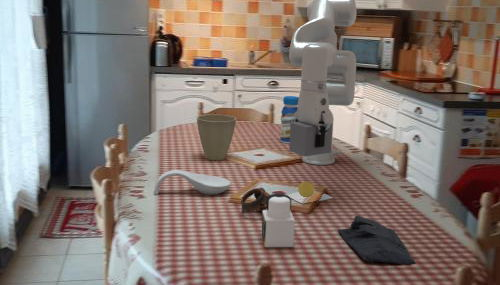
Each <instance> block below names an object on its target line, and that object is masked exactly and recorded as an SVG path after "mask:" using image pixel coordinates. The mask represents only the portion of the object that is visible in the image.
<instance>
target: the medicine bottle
mask: <svg viewBox="0 0 500 285" xmlns="http://www.w3.org/2000/svg"><path fill="white" fill-rule="evenodd" d="M285 194H286V193H280V192H278V193H272V194H270V195H269V196H268V197H267V199H266V205H265V209H263V210H262V211H261V212H262V214H261V239H262V242H263V246H264V248H293V247H294V244H295V226H296V225H295V224H296V223H295V221H296V220H295V218H294V216H293V214H292V199H291V198H290V197H289V196H288V195H285Z"/></svg>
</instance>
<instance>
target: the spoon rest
mask: <svg viewBox="0 0 500 285" xmlns="http://www.w3.org/2000/svg"><path fill="white" fill-rule="evenodd" d="M174 176H178V177H181V178H184V179H185V180H186V181H188V182H189V183H190V184H191V185H192V186H193V187H194V188H195V189H196V190H197V191H198V192H199V193H201V194H202V195H203V194H204V195H209V196H210V195H212V196H213V195H218V194H221V193H223V192H226V190H227V189H228V188H229V187H230V186H231V185H232V184H231V181H230V180H229V179H228V178H224V177H220V176H215V175H209V174H200V173H195V172H191V171H186V170H181V169H172V170H169V171H166V172H164V173H162V174H160V175H159V177H158V178H157V180H156V182H155V185H154V195H159V193H160V187H161V184H162V183H163V181H164V180H166V179H168V178H169V177H174Z"/></svg>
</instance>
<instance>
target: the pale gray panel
mask: <svg viewBox="0 0 500 285" xmlns="http://www.w3.org/2000/svg"><path fill="white" fill-rule="evenodd" d="M331 199H334V196H333V197H332V196H330V195H328V194H326V193H324V194H323V195H322V197H321V199H320V200H319V201H318V202H321V201H326V200H331Z"/></svg>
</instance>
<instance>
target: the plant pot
mask: <svg viewBox="0 0 500 285" xmlns="http://www.w3.org/2000/svg"><path fill="white" fill-rule="evenodd" d="M196 120H197V122H196V123H197V128H198V135H199V140H200V143H201V146H202V147H201V148H202V150H203V153H204V157H205V159H207V160H209V161H215V160H216V161H223V160H225V159H226V157H227V155H228V153H229V152H228V151H229V149H230V146H231V143H232V140H233V136H234V132H235V128H236V121H237V118H236V117H234V116H231V115H228V114H227V115H226V114H214V113H213V114H202V115H198V116H197V117H196Z"/></svg>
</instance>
